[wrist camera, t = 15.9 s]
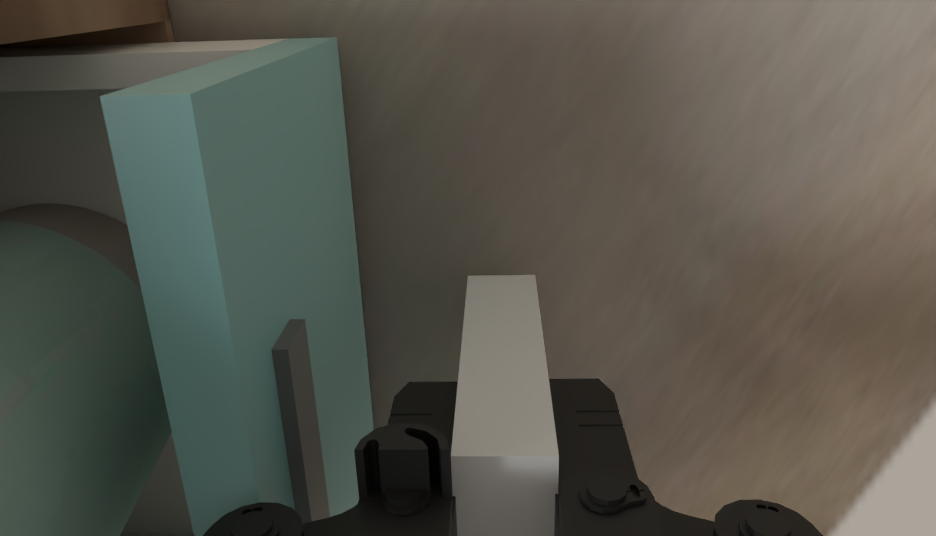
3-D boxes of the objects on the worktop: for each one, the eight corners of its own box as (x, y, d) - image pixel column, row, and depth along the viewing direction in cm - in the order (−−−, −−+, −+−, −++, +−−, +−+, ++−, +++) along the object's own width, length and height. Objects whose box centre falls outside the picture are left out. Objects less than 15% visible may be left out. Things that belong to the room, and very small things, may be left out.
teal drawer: (-55, 526, 20) (-356, 826, 13) (-230, 54, 16) (-843, 122, 8) (391, 527, 20) (331, 842, 13) (348, 36, 15) (212, 93, 8)
